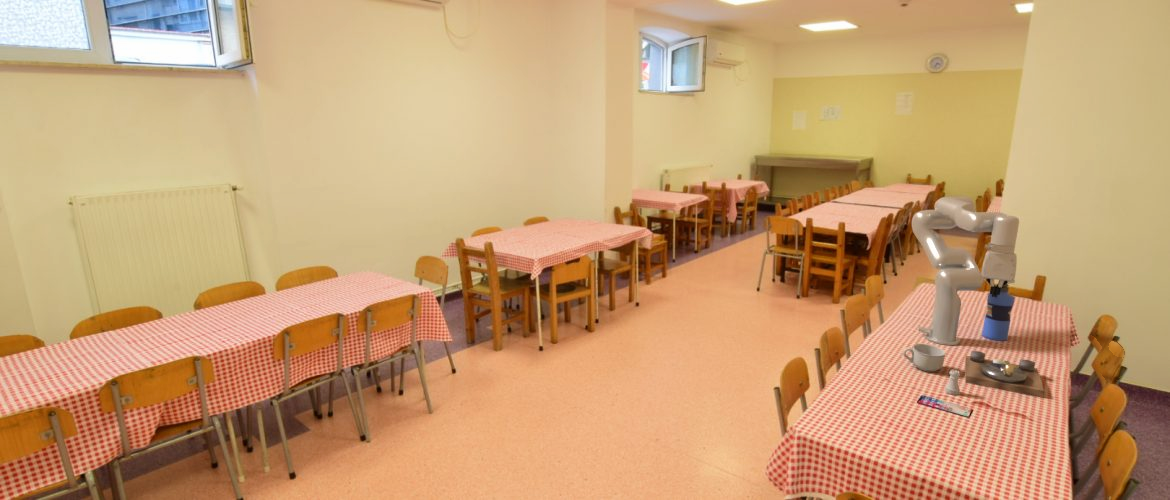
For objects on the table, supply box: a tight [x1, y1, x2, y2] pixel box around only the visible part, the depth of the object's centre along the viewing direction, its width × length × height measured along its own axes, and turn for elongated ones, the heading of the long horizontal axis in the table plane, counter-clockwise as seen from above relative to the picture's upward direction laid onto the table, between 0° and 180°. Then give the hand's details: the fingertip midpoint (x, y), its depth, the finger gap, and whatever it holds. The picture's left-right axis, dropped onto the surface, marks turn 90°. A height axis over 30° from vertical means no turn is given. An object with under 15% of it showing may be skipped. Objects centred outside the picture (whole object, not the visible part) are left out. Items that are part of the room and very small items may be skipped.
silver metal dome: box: [981, 363, 1027, 384], centre depth 203 cm, size 13×13×6 cm
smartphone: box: [916, 395, 974, 418], centre depth 187 cm, size 8×1×15 cm
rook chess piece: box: [944, 368, 961, 396], centre depth 196 cm, size 4×4×8 cm
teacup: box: [902, 343, 946, 373], centre depth 216 cm, size 14×11×8 cm
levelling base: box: [964, 350, 1045, 399], centre depth 207 cm, size 22×22×6 cm
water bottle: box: [981, 284, 1016, 342], centre depth 245 cm, size 9×9×25 cm
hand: (994, 296), depth 215 cm, fingers closed
